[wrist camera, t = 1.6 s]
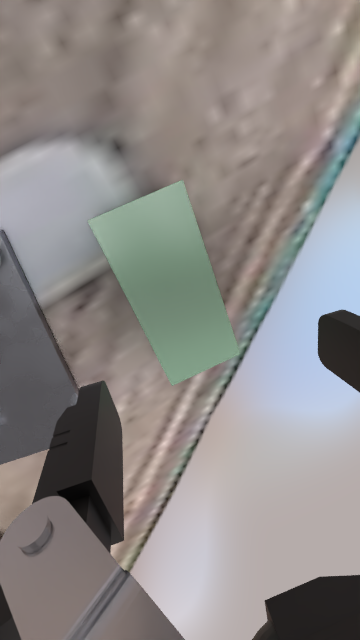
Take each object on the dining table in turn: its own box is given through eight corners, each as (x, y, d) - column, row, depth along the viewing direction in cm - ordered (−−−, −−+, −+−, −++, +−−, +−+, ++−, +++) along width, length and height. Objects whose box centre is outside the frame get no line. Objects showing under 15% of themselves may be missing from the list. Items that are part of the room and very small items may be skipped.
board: (94, 218, 18) (87, 220, 14) (166, 187, 18) (182, 179, 14) (161, 352, 23) (171, 385, 19) (216, 326, 24) (240, 353, 19)
